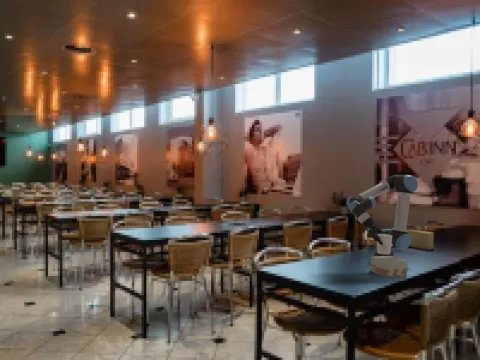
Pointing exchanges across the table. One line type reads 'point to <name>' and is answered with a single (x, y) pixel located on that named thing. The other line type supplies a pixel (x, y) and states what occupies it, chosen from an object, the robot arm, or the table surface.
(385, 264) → the top block
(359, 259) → the table surface
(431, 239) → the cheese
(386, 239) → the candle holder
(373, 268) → the bottom block
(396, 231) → the robot arm
